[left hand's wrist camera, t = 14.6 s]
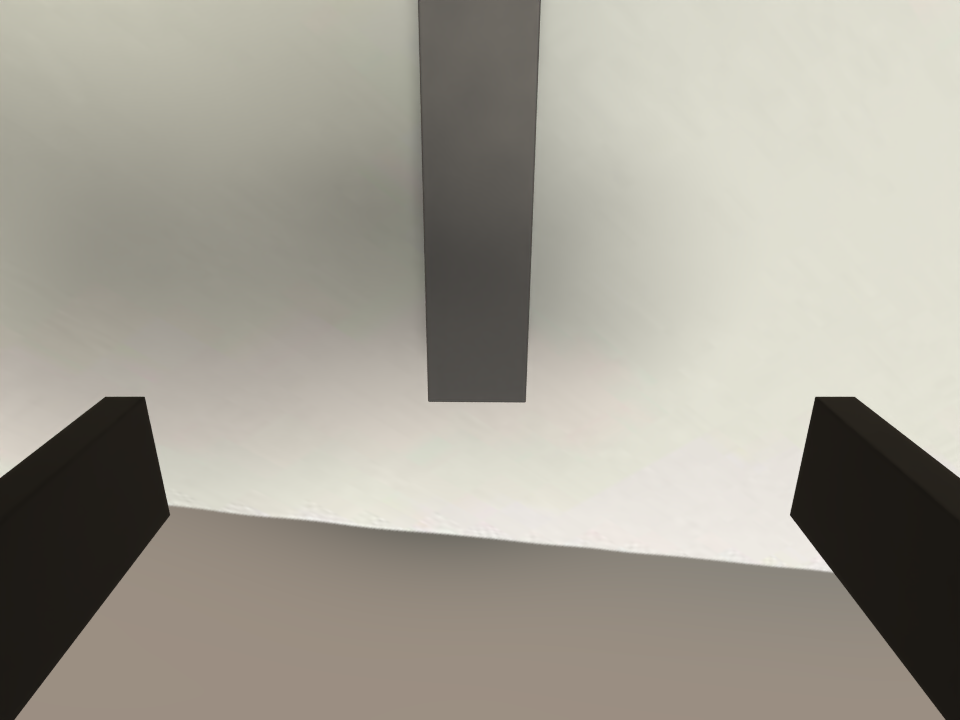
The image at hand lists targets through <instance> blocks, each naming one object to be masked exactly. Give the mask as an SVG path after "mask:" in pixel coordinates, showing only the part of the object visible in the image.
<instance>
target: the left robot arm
mask: <svg viewBox="0 0 960 720" xmlns="http://www.w3.org/2000/svg"><path fill="white" fill-rule="evenodd" d="M169 516H170V513H169V508H168V503H167V499H166V494H165V489H164V485H163V480H162V475H161V471H160V466H159V462H158V457H157V452H156V448H155V443H154V438H153V434H152V429H151V424H150V420H149V415H148V410H147V406H146V401H145V397H105V398H103V399H102V400H101V401H99V402H98V403H97V404H96V405H94V406H93V407H92V408H90V409H89V410H88V411H86V412H85V413H84V414H83V415H81V416H80V417H79V418H77V419H76V420H75V421H74V422H72V423H71V424H70V425H68V426H67V427H66V428H64V429H63V430H62V431H61V432H59V433H58V434H57V435H55V436H54V437H53V438H52V439H50V440H49V441H48V442H46V443H45V444H44V445H42V446H41V447H40V448H39V449H37V450H36V451H35V452H33V453H32V454H31V455H29V456H28V457H27V458H26V459H24V460H23V461H22V462H20V463H19V464H18V465H17V466H15V467H14V468H13V469H11V470H10V471H9V472H7V473H6V474H5V475H4V476H2V477H1V478H0V720H15V718H16V717H17V715H18V714H19V713H20V712H21V710H22V709H23V708H24V706H25V705H26V704H27V702H28V701H29V700H30V698H31V697H32V696H33V695H34V693H35V692H36V691H37V689H38V688H39V687H40V685H41V684H42V683H43V681H44V680H45V679H46V677H47V676H48V675H49V673H50V672H51V671H52V670H53V668H54V667H55V666H56V664H57V663H58V662H59V660H60V659H61V658H62V656H63V655H64V654H65V652H66V651H67V650H68V649H69V647H70V646H71V645H72V643H73V642H74V641H75V639H76V638H77V637H78V635H79V634H80V633H81V631H82V630H83V629H84V627H85V626H86V625H87V624H88V622H89V621H90V620H91V618H92V617H93V616H94V614H95V613H96V612H97V610H98V609H99V608H100V606H101V605H102V604H103V603H104V601H105V600H106V599H107V597H108V596H109V595H110V593H111V592H112V591H113V589H114V588H115V587H116V585H117V584H118V583H119V581H120V580H121V579H122V578H123V576H124V575H125V574H126V572H127V571H128V570H129V568H130V567H131V566H132V564H133V563H134V562H135V560H136V559H137V558H138V556H139V555H140V554H141V553H142V551H143V550H144V549H145V547H146V546H147V545H148V543H149V542H150V541H151V539H152V538H153V537H154V535H155V534H156V533H157V532H158V530H159V529H160V528H161V526H162V525H163V524H164V522H165V521H166V520H167V518H168V517H169ZM790 516H791V517H792V518H793V520H794V521H795V522H796V524H797V525H798V526H799V528H800V529H801V530H802V532H803V533H804V534H805V535H806V537H807V538H808V539H809V541H810V542H811V543H812V545H813V546H814V547H815V549H816V550H817V551H818V553H819V554H820V555H821V556H822V558H823V559H824V560H825V562H826V563H827V564H828V566H829V567H830V568H831V570H832V571H833V572H834V574H835V575H836V576H837V578H838V579H839V580H840V581H841V583H842V584H843V585H844V587H845V588H846V589H847V591H848V592H849V593H850V595H851V596H852V597H853V599H854V600H855V601H856V602H857V604H858V605H859V606H860V608H861V609H862V610H863V612H864V613H865V614H866V616H867V617H868V618H869V620H870V621H871V622H872V624H873V625H874V626H875V627H876V629H877V630H878V631H879V633H880V634H881V635H882V637H883V638H884V639H885V641H886V642H887V643H888V645H889V646H890V647H891V648H892V650H893V651H894V652H895V654H896V655H897V656H898V658H899V659H900V660H901V662H902V663H903V664H904V666H905V667H906V668H907V669H908V671H909V672H910V673H911V675H912V676H913V677H914V679H915V680H916V681H917V683H918V684H919V685H920V687H921V688H922V689H923V691H924V692H925V693H926V695H927V696H928V697H929V698H930V700H931V701H932V702H933V704H934V705H935V706H936V708H937V709H938V710H939V712H940V713H941V714H942V716H943V717H944V718H945V720H960V478H959V477H958V476H956V475H955V474H954V473H953V472H951V471H950V470H949V469H947V468H946V467H945V466H943V465H942V464H941V463H940V462H938V461H937V460H936V459H934V458H933V457H932V456H931V455H929V454H928V453H927V452H925V451H924V450H923V449H921V448H920V447H919V446H918V445H916V444H915V443H914V442H912V441H911V440H910V439H908V438H907V437H906V436H905V435H903V434H902V433H901V432H899V431H898V430H897V429H896V428H894V427H893V426H892V425H890V424H889V423H888V422H886V421H885V420H884V419H883V418H881V417H880V416H879V415H877V414H876V413H875V412H874V411H872V410H871V409H870V408H868V407H867V406H866V405H864V404H863V403H862V402H861V401H859V400H858V399H857V398H855V397H815V401H814V406H813V410H812V415H811V420H810V424H809V429H808V434H807V438H806V443H805V448H804V452H803V457H802V462H801V466H800V471H799V475H798V480H797V485H796V489H795V494H794V499H793V503H792V508H791V513H790Z"/></svg>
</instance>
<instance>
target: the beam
mask: <svg viewBox="0 0 960 720" xmlns="http://www.w3.org/2000/svg"><path fill="white" fill-rule="evenodd" d="M540 6H541V0H418V14H419V54H420V94H421V133H422V173H423V213H424V253H425V292H426V332H427V372H428V401H429V402H526V381H527V354H528V327H529V300H530V274H531V247H532V220H533V193H534V167H535V140H536V113H537V86H538V60H539V33H540Z"/></svg>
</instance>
